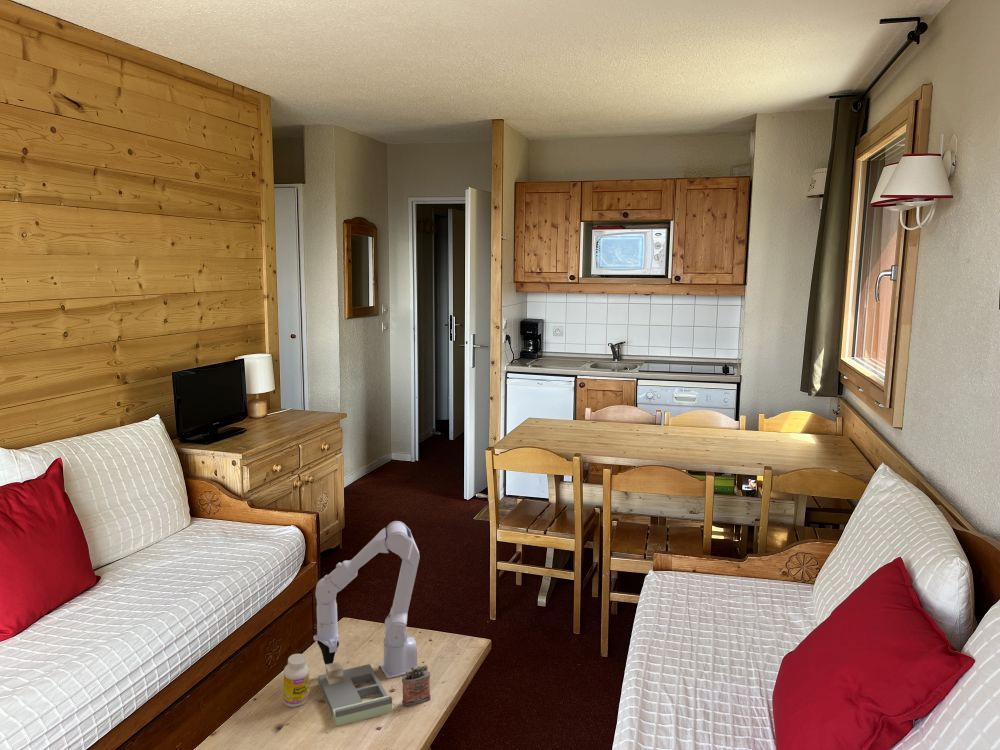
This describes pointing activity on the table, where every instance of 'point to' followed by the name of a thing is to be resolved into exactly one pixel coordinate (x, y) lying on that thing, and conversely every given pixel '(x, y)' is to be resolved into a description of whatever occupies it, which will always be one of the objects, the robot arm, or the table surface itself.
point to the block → (334, 673)
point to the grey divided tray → (355, 696)
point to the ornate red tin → (416, 686)
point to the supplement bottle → (295, 681)
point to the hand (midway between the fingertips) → (328, 664)
